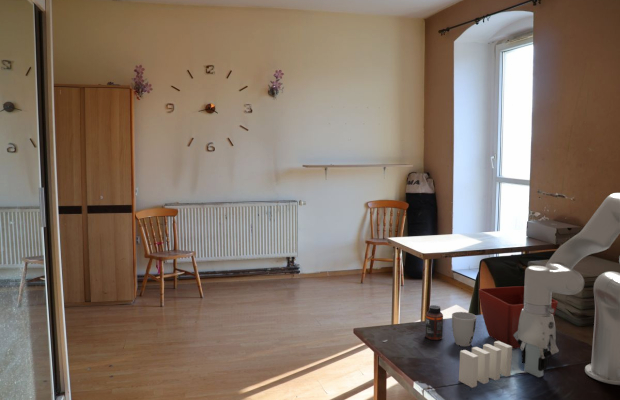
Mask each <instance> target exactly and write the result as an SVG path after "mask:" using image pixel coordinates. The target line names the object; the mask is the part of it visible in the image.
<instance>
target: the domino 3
mask: <svg viewBox="0 0 620 400" xmlns="http://www.w3.org/2000/svg"><path fill="white" fill-rule="evenodd" d="M482 349H483V350H485V351H487V352H490V364H489V379H492V380H493V381H497V380H500V379H501V374H500V365H501V349H499V348H497V347H494V345H492V344H489V343H485V344H483V345H482Z"/></svg>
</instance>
